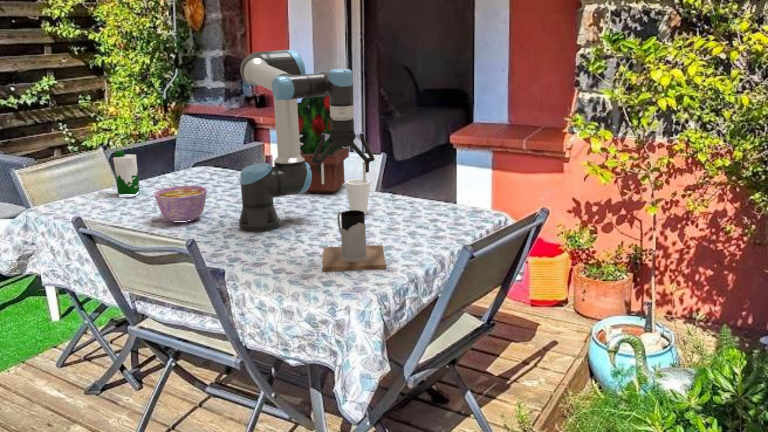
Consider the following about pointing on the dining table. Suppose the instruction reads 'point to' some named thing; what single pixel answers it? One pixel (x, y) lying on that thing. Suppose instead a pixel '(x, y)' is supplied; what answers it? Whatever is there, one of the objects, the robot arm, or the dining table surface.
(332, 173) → the potted plant
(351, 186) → the foam cup
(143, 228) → the dining table surface
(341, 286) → the dining table surface
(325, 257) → the walnut board
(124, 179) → the mojito glass
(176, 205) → the bowl of food
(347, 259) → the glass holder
